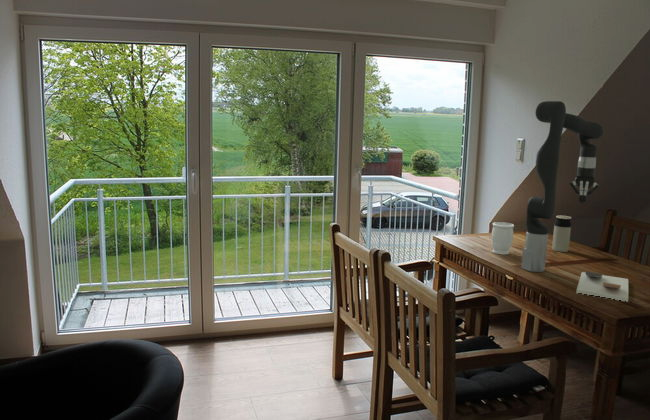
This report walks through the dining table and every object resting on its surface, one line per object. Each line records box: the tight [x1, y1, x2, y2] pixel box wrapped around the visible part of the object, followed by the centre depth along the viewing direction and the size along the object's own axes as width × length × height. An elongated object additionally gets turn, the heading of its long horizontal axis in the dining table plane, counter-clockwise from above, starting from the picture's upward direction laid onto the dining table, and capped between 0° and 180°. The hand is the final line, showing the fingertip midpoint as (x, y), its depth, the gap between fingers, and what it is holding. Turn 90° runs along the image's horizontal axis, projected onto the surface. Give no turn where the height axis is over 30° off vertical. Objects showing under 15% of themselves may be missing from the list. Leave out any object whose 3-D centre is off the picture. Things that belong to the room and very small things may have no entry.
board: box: [575, 271, 629, 303], centre depth 222 cm, size 29×18×2 cm, turn 151°
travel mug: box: [551, 215, 572, 253], centre depth 281 cm, size 8×8×18 cm
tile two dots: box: [603, 282, 621, 288], centre depth 214 cm, size 2×6×10 cm
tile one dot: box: [585, 271, 603, 277], centre depth 228 cm, size 2×6×10 cm
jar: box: [491, 221, 515, 256], centre depth 273 cm, size 11×10×15 cm
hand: (582, 202), depth 256 cm, fingers closed
